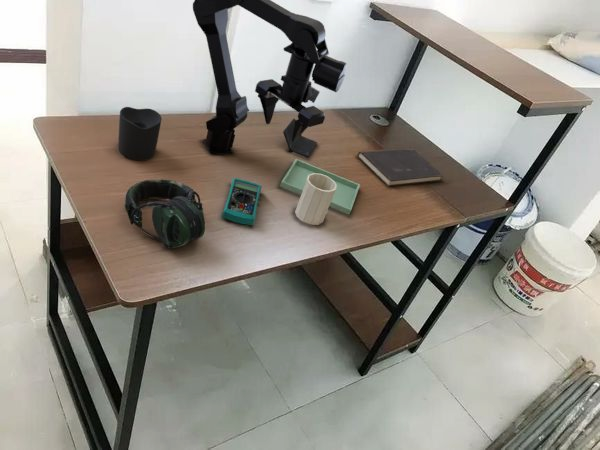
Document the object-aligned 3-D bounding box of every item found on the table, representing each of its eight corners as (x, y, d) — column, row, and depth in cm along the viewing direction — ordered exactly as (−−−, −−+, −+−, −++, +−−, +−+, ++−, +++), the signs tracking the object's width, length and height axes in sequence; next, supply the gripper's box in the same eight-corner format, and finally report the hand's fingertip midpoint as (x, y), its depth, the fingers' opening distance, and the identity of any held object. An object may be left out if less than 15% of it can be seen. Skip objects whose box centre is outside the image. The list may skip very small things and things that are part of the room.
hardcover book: (440, 181, 163) (443, 175, 162) (387, 187, 150) (390, 180, 149) (408, 153, 173) (411, 147, 171) (356, 156, 160) (359, 150, 158)
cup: (300, 226, 123) (313, 190, 117) (290, 207, 128) (303, 172, 122) (326, 226, 126) (341, 192, 120) (316, 208, 131) (330, 174, 125)
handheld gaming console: (316, 156, 148) (304, 124, 144) (292, 164, 150) (280, 132, 146) (318, 143, 159) (307, 113, 155) (296, 151, 160) (284, 121, 156)
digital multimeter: (220, 220, 116) (223, 210, 114) (230, 185, 128) (233, 175, 126) (252, 228, 117) (255, 218, 115) (259, 193, 129) (262, 183, 127)
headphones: (234, 214, 109) (171, 177, 118) (203, 187, 97) (137, 148, 106) (197, 267, 107) (136, 225, 116) (162, 246, 95) (97, 201, 104)
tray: (279, 188, 133) (281, 181, 132) (293, 164, 145) (296, 158, 143) (348, 216, 132) (351, 210, 131) (357, 190, 144) (360, 184, 142)
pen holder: (142, 166, 123) (147, 130, 117) (108, 151, 124) (111, 114, 118) (163, 151, 131) (168, 116, 125) (130, 137, 131) (134, 101, 126)
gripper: (347, 89, 124) (326, 144, 133) (291, 55, 131) (275, 110, 140) (319, 95, 116) (299, 153, 125) (261, 58, 123) (246, 116, 132)
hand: (280, 132), depth 131 cm, fingers open, 9 cm apart
